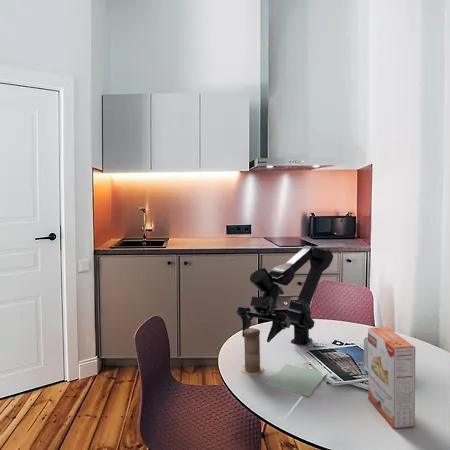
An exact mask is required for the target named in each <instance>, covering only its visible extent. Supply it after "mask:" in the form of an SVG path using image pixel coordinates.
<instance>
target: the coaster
mask: <svg viewBox="0 0 450 450" xmlns="http://www.w3.org/2000/svg"><path fill="white" fill-rule="evenodd" d="M265 371H266V368H265V367H264V366H263V365H261V364H260V371H259V372H256V373H249V372H247V371H246V370H245V364H244V365H243V366H241V368H240V372H241V373H242V374H244V375H247V376H258V375H261V374H263V373H265Z"/></svg>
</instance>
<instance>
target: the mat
mask: <svg viewBox="0 0 450 450" xmlns="http://www.w3.org/2000/svg"><path fill="white" fill-rule="evenodd" d="M318 371H319V370H313V369H309V368H306V367H301V366H296V365H292V364H288V363H286V364H285V365H283V367H281V368H280V370H278V371H277V372H276V373H275V374H274V375H273V376H272V377H271V378H270V379H269V380H268V381H267V382H266V383H265V384H264V386H269V387H273V388H276V389H281V390H284V391H288V392H291V393H295V394H300V395H301V396H302V397H304V398H310V397H311V396H312V395H313V393H314V392H315V390H316V389H317V388H318V387H319V385H320V384H321V383H322V382H323V380H324V379H325V377H323V376H322V375H321V374H320V373H319V372H320V371H319V372H318Z"/></svg>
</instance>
